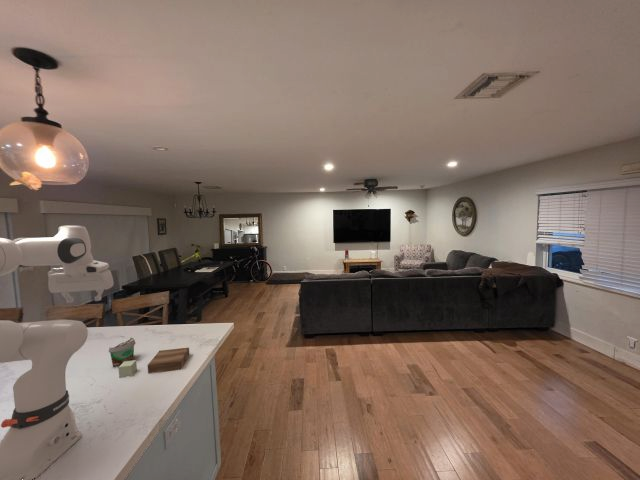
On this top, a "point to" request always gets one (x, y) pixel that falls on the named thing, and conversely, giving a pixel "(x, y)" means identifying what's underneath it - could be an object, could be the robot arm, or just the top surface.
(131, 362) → the sage block
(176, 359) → the walnut base
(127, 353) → the food container
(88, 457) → the top surface
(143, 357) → the top surface
